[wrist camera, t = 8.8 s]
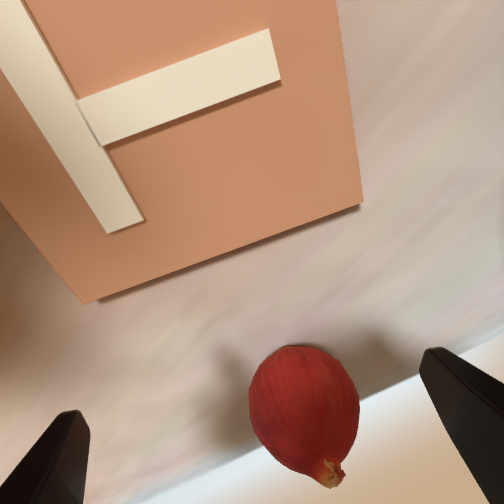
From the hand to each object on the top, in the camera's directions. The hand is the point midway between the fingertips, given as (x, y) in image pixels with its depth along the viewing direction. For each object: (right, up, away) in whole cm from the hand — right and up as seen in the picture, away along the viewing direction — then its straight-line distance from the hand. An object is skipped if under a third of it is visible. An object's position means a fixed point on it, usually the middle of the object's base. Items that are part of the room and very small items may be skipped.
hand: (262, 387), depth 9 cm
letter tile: (-4, +9, +4) cm, 11 cm away
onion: (+2, -3, +13) cm, 13 cm away
